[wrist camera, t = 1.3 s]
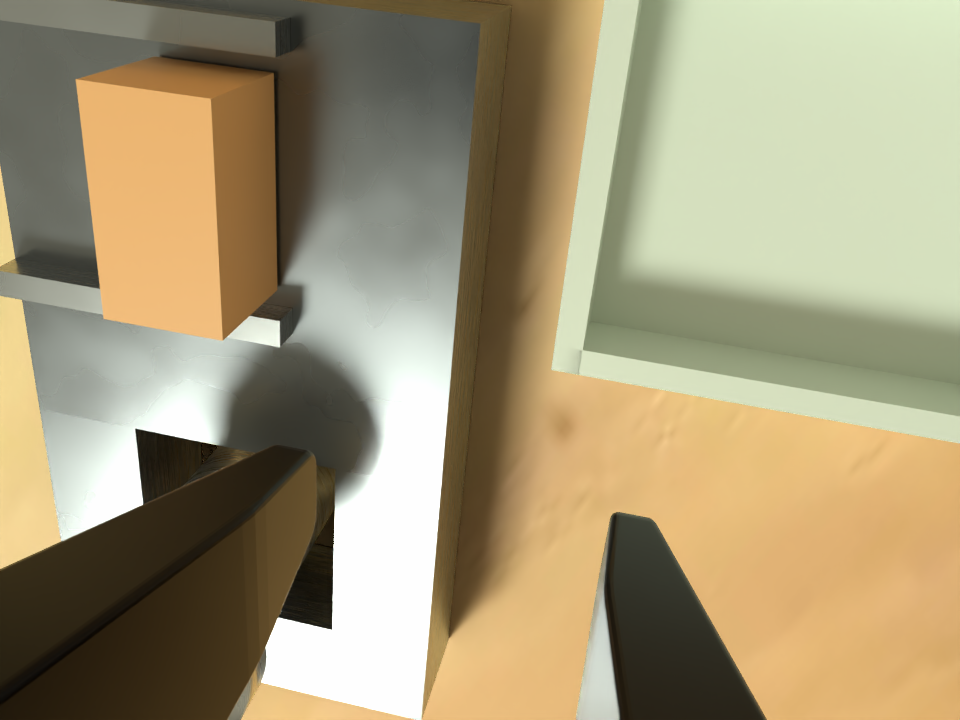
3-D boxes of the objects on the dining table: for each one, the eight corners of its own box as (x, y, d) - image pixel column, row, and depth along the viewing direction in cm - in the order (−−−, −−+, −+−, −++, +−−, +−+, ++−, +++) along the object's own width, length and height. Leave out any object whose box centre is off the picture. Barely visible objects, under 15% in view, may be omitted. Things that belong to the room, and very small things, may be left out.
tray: (1202, -34, 16) (1264, -26, 14) (1012, 409, 20) (1042, 458, 18) (626, -94, 17) (618, -94, 15) (563, 331, 21) (551, 370, 20)
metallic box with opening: (511, 5, 18) (472, 28, 15) (448, 640, 27) (413, 742, 23) (63, -49, 20) (-60, -40, 17) (134, 568, 28) (61, 656, 25)
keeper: (273, 73, 17) (210, 98, 15) (277, 289, 19) (222, 341, 17) (154, 56, 17) (75, 79, 15) (170, 271, 19) (103, 319, 17)
